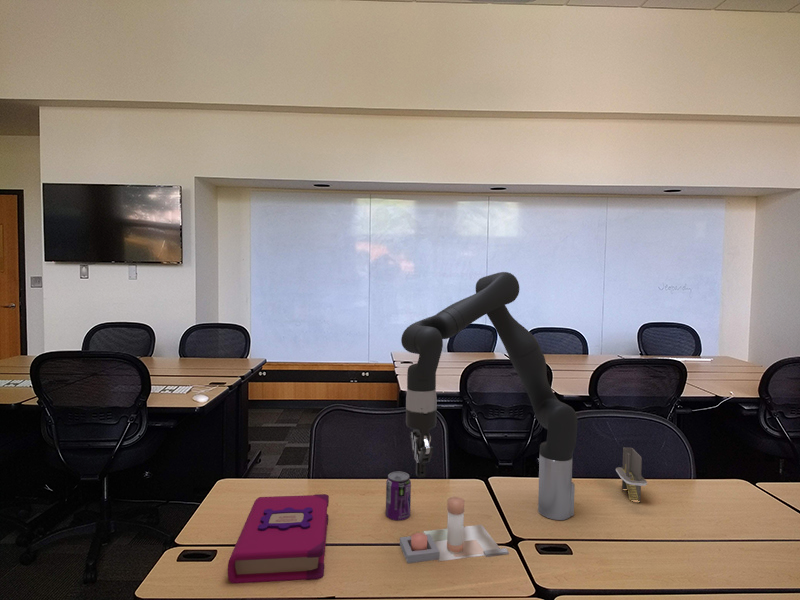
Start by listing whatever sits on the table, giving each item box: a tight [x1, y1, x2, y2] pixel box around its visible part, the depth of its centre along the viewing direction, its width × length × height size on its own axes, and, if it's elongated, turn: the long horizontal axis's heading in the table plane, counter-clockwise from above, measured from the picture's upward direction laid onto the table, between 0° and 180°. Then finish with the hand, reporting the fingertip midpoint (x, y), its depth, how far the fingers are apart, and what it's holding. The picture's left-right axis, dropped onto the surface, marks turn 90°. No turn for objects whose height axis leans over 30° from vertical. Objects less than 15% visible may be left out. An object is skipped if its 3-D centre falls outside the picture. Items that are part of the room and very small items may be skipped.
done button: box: [410, 532, 428, 551], centre depth 114 cm, size 4×4×4 cm
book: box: [227, 493, 330, 585], centre depth 116 cm, size 21×28×8 cm
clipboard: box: [422, 524, 510, 562], centre depth 119 cm, size 20×16×1 cm
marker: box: [446, 496, 465, 554], centre depth 115 cm, size 4×4×12 cm
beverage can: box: [385, 471, 412, 521], centre depth 132 cm, size 7×7×12 cm
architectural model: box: [615, 447, 648, 502], centre depth 147 cm, size 20×25×15 cm
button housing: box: [399, 534, 440, 564], centre depth 114 cm, size 8×8×2 cm
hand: (420, 476), depth 113 cm, fingers closed
